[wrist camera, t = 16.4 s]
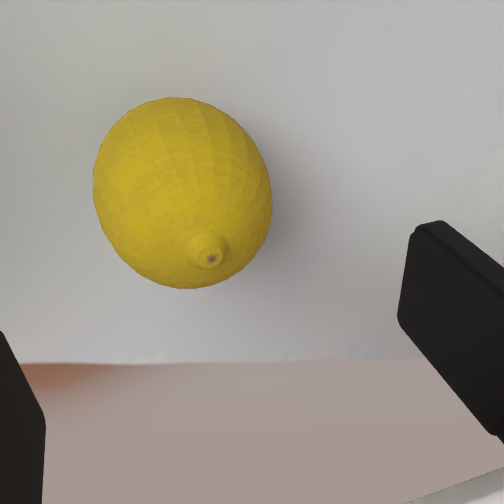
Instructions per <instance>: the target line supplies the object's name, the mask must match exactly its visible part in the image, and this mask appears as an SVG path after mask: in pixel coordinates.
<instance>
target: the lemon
mask: <svg viewBox="0 0 504 504" xmlns="http://www.w3.org/2000/svg"><path fill="white" fill-rule="evenodd" d="M93 199H94V204H95V207H96V211H97V214H98V217H99V221H100V224H101V227H102V229H103V231H104V233H105V235H106V236H107V238H108V239H109V241H110V243H111V244H112V246H113V247H114V249H115V250H116V252H117V253H118V255H119V256H120V257H121V258H122V260H123V261H125V262H126V263H127V264H128V265H129V266H130V267H132V268H133V269H134V270H135V271H136V272H137V273H139V274H140V275H141V276H143V277H145V278H147V279H149V280H152V281H154V282H156V283H158V284H161V285H165V286H169V287H173V288H178V289H196V288H201V287H206V286H211V285H214V284H217V283H219V282H222V281H224V280H227V279H228V278H230V277H231V276H233V275H234V274H236V273H238V272H239V271H241V270H242V269H243V268H244V267H245V266H246V265H247V264H248V263H249V262H250V261H251V260H252V259H253V258H254V256H255V255H256V253H257V252H258V250H259V249H260V247H261V246H262V244H263V242H264V240H265V237H266V234H267V232H268V229H269V226H270V221H271V211H272V193H271V188H270V182H269V177H268V172H267V168H266V165H265V163H264V161H263V159H262V157H261V155H260V153H259V151H258V149H257V147H256V145H255V143H254V141H253V140H252V138H251V137H250V136H249V135H248V134H247V133H246V132H245V131H244V130H243V128H242V127H241V126H240V125H239V124H238V123H237V122H236V121H235V120H234V119H233V118H231V117H230V116H228V115H227V114H225V113H224V112H222V111H220V110H219V109H217V108H216V107H214V106H212V105H210V104H207V103H203V102H200V101H197V100H194V99H190V98H163V99H159V100H154V101H150V102H146V103H144V104H142V105H141V106H139V107H137V108H135V109H133V110H131V111H129V112H128V113H127V114H126V115H125V116H123V117H122V118H121V119H120V120H119V121H118V122H117V123H116V124H115V125H114V126H113V127H112V128H111V130H110V131H109V133H108V135H107V136H106V138H105V139H104V141H103V142H102V144H101V146H100V149H99V153H98V156H97V159H96V162H95V166H94V170H93Z"/></svg>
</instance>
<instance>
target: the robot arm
mask: <svg viewBox="0 0 504 504" xmlns="http://www.w3.org/2000/svg"><path fill="white" fill-rule="evenodd" d="M397 318H398V322H399V324H400V326H401V328H402V329H403V330H404V332H405V333H406V334H407V335H408V336H409V338H410V339H411V340H412V341H413V342H414V344H415V345H416V346H417V347H418V349H419V350H420V351H421V352H422V353H423V355H424V356H425V357H426V358H427V359H428V361H429V362H430V363H431V364H432V365H433V367H434V368H435V369H436V370H437V371H438V373H439V374H440V375H441V376H442V378H443V379H444V380H445V381H446V382H447V384H448V385H449V386H450V387H451V388H452V390H453V391H454V392H455V393H456V394H457V396H458V397H459V398H460V399H461V400H462V401H463V403H464V404H465V405H466V407H467V408H468V409H469V410H470V411H471V413H472V414H473V415H474V416H475V417H476V419H477V420H478V421H479V422H480V423H481V425H482V426H483V427H484V428H485V429H486V430H487V431H488V433H490V434H491V435H495V436H496V435H497V436H498V438H499V439H500V440H501V441H502V442H503V444H504V267H502V266H501V265H500V264H499V263H497V262H496V261H495V260H493V259H492V258H491V257H490V256H488V255H487V254H486V253H484V252H483V251H482V250H481V249H479V248H478V247H477V246H475V245H474V244H473V243H472V242H470V241H469V240H468V239H466V238H465V237H464V236H463V235H461V234H460V233H459V232H458V231H456V230H455V229H454V228H452V227H451V226H450V225H449V224H447V223H446V222H444V221H441V220H438V221H434V222H430V223H426V224H421V225H419V226H417V227H416V229H415V231H414V232H413V233H412V234H411V235H410V238H409V244H408V250H407V256H406V263H405V269H404V275H403V281H402V287H401V293H400V300H399V306H398V312H397ZM45 433H46V425H45V418H44V414H43V412H42V409H41V407H40V406H39V403H38V402H37V400H36V398H35V396H34V394H33V392H32V390H31V388H30V386H29V384H28V382H27V380H26V378H25V376H24V374H23V372H22V370H21V368H20V366H19V364H18V362H17V360H16V358H15V356H14V354H13V352H12V350H11V348H10V346H9V344H8V342H7V340H6V338H5V336H4V334H3V333H2V332H1V331H0V504H42V486H43V470H44V452H45ZM405 504H504V467H502V468H500V469H497V470H494V471H492V472H489V473H486V474H484V475H481V476H478V477H476V478H473V479H470V480H467V481H464V482H462V483H459V484H456V485H454V486H451V487H448V488H445V489H443V490H440V491H438V492H435V493H432V494H429V495H426V496H424V497H421V498H418V499H416V500H413V501H410V502H408V503H405Z"/></svg>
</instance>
